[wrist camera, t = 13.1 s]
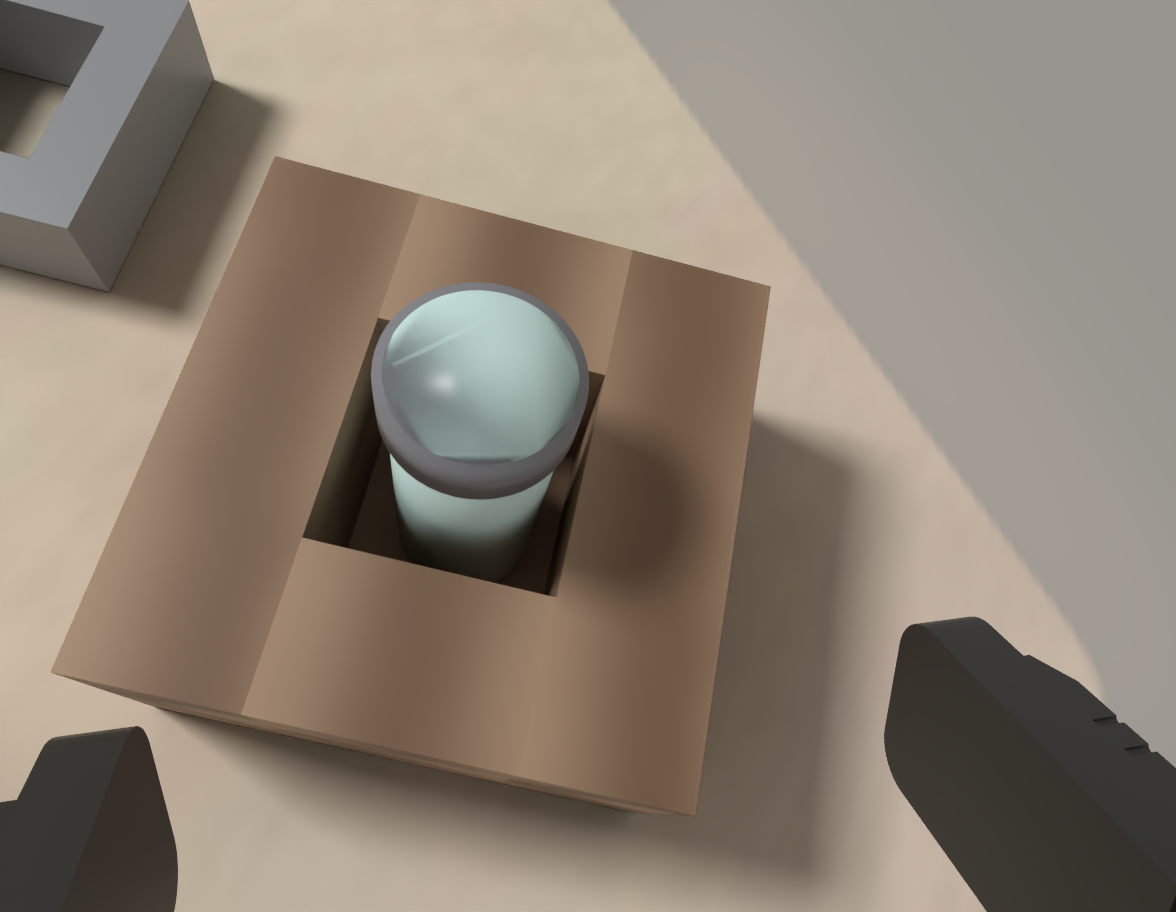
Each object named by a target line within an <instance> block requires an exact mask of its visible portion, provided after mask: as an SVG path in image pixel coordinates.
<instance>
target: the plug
mask: <svg viewBox="0 0 1176 912" xmlns="http://www.w3.org/2000/svg"><path fill="white" fill-rule="evenodd" d="M371 383H372V392H373V399H374V407H375V414H376V419H377V424H378V429H379V432H380V434H381V437H382V440H383V442H384V444H385V445H386V447H387V449H388V451H389V453H390V459H391V468H392V476H393V485H394V494H395V502H396V511H397V520H398V529H399V537H400V541H401V545H402V548H403V551H404V553H405V555H406V557H407V559H408V560H409V562H410V563H412V564H416V565H421V566H425V567H429V568H433V569H437V570H442V571H446V572H450V573H454V574H459V575H463V576H467V577H471V578H476V579H480V580H484V581H488V582H493V583H496V582H498V581H500V580H501V579H503V578H504V577H506V576H507V575H508V574H509V573H510V572H511V571H513V570H514V568H515V567H516V566H517V565H518V564H519V562H520V561H521V559H522V557H523V556H524V554H525V551H526V549H527V546H528V544H529V541H530V538H531V535H532V532H533V529H534V526H535V523H536V520H537V517H538V514H539V512H540V509H541V506H542V503H543V500H544V497H545V494H546V491H547V488H548V485H549V482H550V479H551V477H552V474H553V471H554V470H555V469H556V467H557V466H558V465H559V464H560V463H561V462H562V460H563V459H564V457H565V456H566V454H567V453H568V451H569V449H570V447H571V445H572V443H573V440H574V438H575V435H576V432H577V430H578V427H579V424H580V422H581V419H582V416H583V413H584V410H585V407H586V403H587V400H588V392H589V372H588V366H587V361H586V358H585V355H584V351H583V349H582V347H581V345H580V343H579V340H578V339H577V337H576V335H575V334H574V332H573V331H572V329H571V328H570V327H569V325H568V324H567V323H566V322H565V321H564V319H563V318H562V317H561V316H560V315H559V314H557V313H556V312H555V311H554V310H553V309H552V308H551V307H549V306H548V305H546V304H545V303H544V302H542V301H541V300H539V299H537V298H535V297H534V296H532V295H530V294H527V293H525V292H523V291H521V290H518V289H515V288H512V287H508V286H504V285H499V284H494V283H484V282H467V283H459V284H452V285H448V286H444V287H441V288H437V289H435V290H432V291H430V292H427V293H425V294H423V295H422V296H420V297H418V298H416V299H414V300H413V301H412V302H410V303H409V304H407V305H406V306H405V307H403V308H402V309H401V310H400V311H399V312H398V313H397V314H396V315H395V316H394V317H393V318H392V320H391V321H390V322H389V323H388V325H387V326H386V328H385V329H384V331H383V333H382V334H381V336H380V338H379V341H378V343H377V345H376V348H375V351H374V355H373V360H372V368H371Z"/></svg>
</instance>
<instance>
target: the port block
mask: <svg viewBox="0 0 1176 912" xmlns="http://www.w3.org/2000/svg"><path fill="white" fill-rule="evenodd" d="M467 282H484V283H494V284H499V285H504V286H508V287H512V288H515V289H518V290H521V291H523V292H525V293H527V294H530V295H532V296H534V297H535V298H537V299H539V300H541V301H542V302H544V303H545V304H546V305H548V306H549V307H551V308H552V309H553V310H554V311H555V312H556V313H557V314H559V315H560V316H561V317H562V318H563V319H564V321H565V322H566V323H567V324H568V325H569V327H570V328H571V329H572V331H573V332H574V334H575V335H576V337H577V339H578V340H579V343H580V345H581V347H582V349H583V351H584V355H585V358H586V361H587V366H588V372H589V392H588V400H587V403H586V407H585V410H584V413H583V416H582V419H581V422H580V424H579V427H578V430H577V432H576V435H575V438H574V440H573V443H572V445H571V447H570V449H569V451H568V453H567V454H566V456H565V457H564V459H563V460H562V462H561V463H560V464H559V465H558V466H557V467H556V469H555V470H554V471H553V474H552V477H551V479H550V482H549V485H548V488H547V491H546V494H545V497H544V500H543V503H542V506H541V509H540V512H539V514H538V517H537V520H536V523H535V526H534V529H533V532H532V535H531V538H530V541H529V544H528V546H527V549H526V551H525V554H524V556H523V557H522V559H521V561H520V562H519V564H518V565H517V566H516V567H515V568H514V570H513V571H511V572H510V573H509V574H508V575H507V576H506V577H504V578H503V579H501V580H500V581H498V582H496V583H493V582H488V581H484V580H480V579H476V578H471V577H467V576H463V575H459V574H454V573H450V572H446V571H442V570H437V569H433V568H429V567H425V566H421V565H416V564H412V563H410V562H409V560H408V559H407V557H406V555H405V553H404V551H403V548H402V545H401V541H400V537H399V529H398V520H397V511H396V502H395V494H394V485H393V476H392V468H391V459H390V453H389V451H388V449H387V447H386V445H385V444H384V442H383V440H382V437H381V434H380V432H379V429H378V424H377V419H376V414H375V407H374V399H373V392H372V383H371V368H372V360H373V355H374V351H375V348H376V345H377V343H378V341H379V338H380V336H381V334H382V333H383V331H384V329H385V328H386V326H387V325H388V323H389V322H390V321H391V320H392V318H393V317H394V316H395V315H396V314H397V313H398V312H399V311H400V310H401V309H402V308H403V307H405V306H406V305H407V304H409V303H410V302H412V301H413V300H414V299H416V298H418V297H420V296H422V295H423V294H425V293H427V292H430V291H432V290H435V289H437V288H441V287H444V286H448V285H452V284H459V283H467ZM770 288H771V286H767V285H763V284H759V283H755V282H752V281H748V280H744V279H740V278H736V277H733V276H729V275H725V274H721V273H717V272H714V271H710V270H706V269H702V268H698V267H695V266H691V265H687V264H683V263H679V262H676V261H672V260H668V259H664V258H660V257H657V256H653V255H649V254H645V253H641V252H638V251H634V250H630V249H626V248H622V247H618V246H615V245H611V244H607V243H603V242H599V241H596V240H592V239H588V238H584V237H580V236H577V235H573V234H569V233H565V232H561V231H558V230H554V229H550V228H546V227H542V226H539V225H535V224H531V223H527V222H523V221H520V220H516V219H512V218H508V217H504V216H501V215H497V214H493V213H489V212H485V211H482V210H478V209H474V208H470V207H466V206H463V205H459V204H455V203H451V202H447V201H444V200H440V199H436V198H432V197H428V196H425V195H421V194H417V193H413V192H409V191H406V190H402V189H398V188H394V187H390V186H387V185H383V184H379V183H375V182H371V181H368V180H364V179H360V178H356V177H352V176H349V175H345V174H341V173H337V172H333V171H330V170H326V169H322V168H318V167H314V166H310V165H307V164H303V163H299V162H295V161H291V160H288V159H284V158H280V157H276V156H275V158H274V160H273V163H272V165H271V167H270V169H269V172H268V174H267V176H266V179H265V181H264V183H263V186H262V188H261V190H260V192H259V195H258V197H257V199H256V202H255V204H254V206H253V208H252V211H251V213H250V215H249V218H248V220H247V222H246V225H245V227H244V229H243V231H242V234H241V236H240V238H239V241H238V243H237V245H236V247H235V250H234V252H233V254H232V257H231V259H230V261H229V264H228V266H227V268H226V270H225V273H224V275H223V277H222V280H221V282H220V284H219V287H218V289H217V291H216V293H215V296H214V298H213V300H212V303H211V305H210V307H209V309H208V312H207V314H206V316H205V319H204V321H203V323H202V326H201V328H200V330H199V332H198V335H197V337H196V339H195V342H194V344H193V346H192V348H191V351H190V353H189V355H188V358H187V360H186V362H185V365H184V367H183V369H182V371H181V374H180V376H179V378H178V381H177V383H176V385H175V388H174V390H173V392H172V394H171V397H170V399H169V401H168V404H167V406H166V408H165V410H164V413H163V415H162V417H161V420H160V422H159V424H158V427H157V429H156V431H155V433H154V436H153V438H152V440H151V443H150V445H149V447H148V450H147V452H146V454H145V456H144V459H143V461H142V463H141V466H140V468H139V470H138V472H137V475H136V477H135V479H134V482H133V484H132V486H131V489H130V491H129V493H128V495H127V498H126V500H125V502H124V505H123V507H122V509H121V511H120V514H119V516H118V518H117V521H116V523H115V525H114V528H113V530H112V532H111V534H110V537H109V539H108V541H107V544H106V546H105V548H104V551H103V553H102V555H101V557H100V560H99V562H98V564H97V567H96V569H95V571H94V573H93V576H92V578H91V580H90V583H89V585H88V587H87V590H86V592H85V594H84V596H83V599H82V601H81V603H80V606H79V608H78V610H77V612H76V615H75V617H74V619H73V622H72V624H71V626H70V629H69V631H68V633H67V635H66V638H65V640H64V642H63V645H62V647H61V649H60V652H59V654H58V656H57V658H56V661H55V663H54V665H53V668H52V670H51V673H54V674H57V675H60V676H63V677H66V678H69V679H72V680H75V681H78V682H81V683H84V684H87V685H90V686H93V687H96V688H99V689H103V690H106V691H109V692H112V693H115V694H118V695H121V696H124V697H127V698H130V699H133V700H136V701H139V702H142V703H145V704H148V705H151V706H154V707H159V708H163V709H168V710H172V711H177V712H181V713H186V714H191V715H195V716H200V717H204V718H209V719H213V720H218V721H222V722H227V723H231V724H236V725H240V726H245V727H249V728H254V729H258V730H263V731H267V732H272V733H276V734H281V735H285V736H290V737H294V738H299V739H303V740H308V741H312V742H317V743H321V744H326V745H330V746H335V747H339V748H344V749H348V750H353V751H357V752H362V753H366V754H371V755H375V756H380V757H384V758H389V759H393V760H398V761H403V762H407V763H412V764H416V765H421V766H425V767H430V768H434V769H439V770H443V771H448V772H452V773H457V774H461V775H466V776H470V777H475V778H479V779H484V780H488V781H493V782H497V783H502V784H506V785H511V786H515V787H520V788H524V789H529V790H533V791H538V792H542V793H547V794H551V795H556V796H560V797H565V798H569V799H574V800H578V801H583V802H587V803H592V804H596V805H601V806H605V807H610V808H615V809H619V810H624V811H628V812H633V813H651V814H670V815H690V816H696V809H697V802H698V795H699V788H700V781H701V774H702V767H703V760H704V753H705V745H706V738H707V731H708V724H709V717H710V710H711V703H712V696H713V689H714V682H715V675H716V668H717V661H718V654H719V647H720V640H721V633H722V626H723V619H724V612H725V605H726V598H727V591H728V584H729V576H730V569H731V562H732V555H733V548H734V541H735V534H736V527H737V520H738V513H739V506H740V499H741V492H742V485H743V478H744V471H745V464H746V457H747V450H748V443H749V436H750V429H751V422H752V415H753V408H754V400H755V393H756V386H757V379H758V372H759V365H760V358H761V351H762V344H763V337H764V330H765V323H766V316H767V309H768V302H769V295H770Z"/></svg>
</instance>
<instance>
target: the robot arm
mask: <svg viewBox="0 0 1176 912" xmlns="http://www.w3.org/2000/svg"><path fill="white" fill-rule="evenodd" d="M884 743H885V751H886V757H887V761H888V764H889V767H890V770H891V773H892V775H893V778H894V780H895V782H896V784H897V786H898V787H899V789H900V790H901V792H902V793H903V795H904V796H905V797H906V799H907V800H908V802H909V803H910V804H911V806H912V807H913V809H914V810H915V811H916V813H917V814H918V816H919V817H920V818H921V820H922V821H923V823H924V824H925V825H926V827H927V828H928V830H929V831H930V832H931V834H932V835H933V837H934V838H935V839H936V841H937V842H938V844H939V845H940V846H941V848H942V849H943V851H944V852H945V853H946V855H947V856H948V858H949V859H950V860H951V862H952V863H953V865H954V866H955V868H956V869H957V870H958V872H959V873H960V875H961V876H962V877H963V879H964V880H965V882H966V883H967V884H968V886H969V887H970V889H971V890H972V891H973V893H974V894H975V896H976V897H977V898H978V900H979V901H980V903H981V904H982V905H983V907H984V908H985V910H986V911H987V912H1176V768H1175V767H1174V766H1173V765H1171V764H1170V763H1169V762H1168V761H1167V760H1166V759H1165V758H1164V757H1162V756H1161V755H1160V754H1159V753H1158V752H1151V751H1150V750H1149V747H1148V743H1147V742H1146V741H1144V740H1143V739H1142V738H1141V737H1140V736H1139V735H1138V734H1137V733H1135V732H1134V731H1133V730H1132V729H1131V728H1130V727H1128V725H1126V724H1125V723H1118V721H1117V719H1116V715H1115V714H1114V713H1113V712H1112V711H1110V709H1108V708H1107V707H1106V706H1105V705H1104V704H1103V703H1102V702H1101V701H1099V700H1098V699H1097V698H1096V697H1095V696H1094V695H1093V694H1092V693H1090V692H1089V691H1088V690H1087V689H1086V688H1085V687H1084V686H1083V685H1081V684H1080V683H1079V682H1078V681H1076V680H1074V679H1073V678H1071V677H1069V676H1067V675H1065V674H1063V673H1062V672H1060V671H1058V670H1056V669H1054V668H1052V667H1050V666H1049V665H1047V664H1045V663H1043V662H1041V661H1039V660H1038V659H1036V658H1034V657H1032V656H1030V655H1026V656H1023V655H1022V654H1021V653H1020V652H1019V651H1018V650H1016V649H1015V648H1014V647H1013V646H1012V645H1011V644H1010V643H1009V642H1008V641H1007V640H1006V639H1005V638H1004V637H1002V636H1001V635H1000V634H999V633H998V632H997V631H996V630H995V629H994V628H993V627H992V626H991V625H989V624H988V623H987V622H986V621H984V620H982V619H980V618H978V617H964V618H957V619H949V620H942V621H935V622H927V623H920V624H913V625H910V626H909V627H908V628H906V630H905V631H904V633H903V635H902V637H901V641H900V645H899V651H898V657H897V662H896V668H895V674H894V679H893V685H892V691H891V697H890V702H889V708H888V714H887V719H886V725H885V732H884ZM177 883H178V861H177V851H176V844H175V839H174V835H173V831H172V827H171V824H170V820H169V816H168V812H167V808H166V804H165V801H164V797H163V793H162V789H161V785H160V781H159V778H158V774H157V770H156V766H155V762H154V758H153V754H152V751H151V747H150V743H149V740H148V737H147V735H146V733H145V732H144V730H143V729H142V728H141V727H138V726H135V727H128V728H120V729H113V730H105V731H98V732H90V733H83V734H75V735H68V736H60V737H55V738H52V739H50V740H49V741H48V742H47V743H46V744H45V745H44V747H43V749H42V750H41V752H40V754H39V756H38V758H37V760H36V762H35V764H34V766H33V768H32V770H31V773H30V775H29V777H28V779H27V781H26V783H25V785H24V787H23V789H22V791H21V793H20V795H19V797H18V799H17V800H13V801H6V802H0V912H174V909H175V903H176V896H177Z"/></svg>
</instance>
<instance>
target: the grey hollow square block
mask: <svg viewBox="0 0 1176 912" xmlns="http://www.w3.org/2000/svg"><path fill="white" fill-rule="evenodd" d="M0 68H2V69H6V70H9V71H13V72H17V73H21V74H25V75H28V76H32V77H36V78H40V79H44V80H47V81H51V82H55V83H59V84H62V85H66V86H70V88H69V90H68V91H67V93H66V95H65V97H64V98H63V100H62V102H61V104H60V105H59V107H58V109H57V111H56V112H55V114H54V116H53V117H52V119H51V121H50V123H49V124H48V126H47V128H46V130H45V131H44V133H43V135H42V137H41V138H40V140H39V142H38V144H37V145H36V147H35V149H34V151H33V152H32V154H31V156H30V157H29V159H28V158H24V157H20V156H17V155H13V154H9V153H5V152H1V151H0V265H3V266H7V267H11V268H15V269H19V270H23V271H27V272H31V273H35V274H39V275H43V276H47V277H51V278H55V279H59V280H63V281H67V282H71V283H75V284H79V285H83V286H87V287H91V288H94V289H98V290H102V291H106V292H109V291H110V289H111V287H112V285H113V283H114V281H115V279H116V277H117V275H118V273H119V271H120V269H121V267H122V265H123V263H124V261H125V259H126V257H127V255H128V253H129V251H130V248H131V246H132V244H133V242H134V240H135V238H136V236H137V234H138V232H139V230H140V228H141V226H142V224H143V222H144V220H145V218H146V216H147V214H148V212H149V210H150V208H151V206H152V204H153V202H154V200H155V198H156V196H157V194H158V192H159V190H160V188H161V186H162V183H163V181H164V179H165V177H166V175H167V173H168V171H169V169H170V167H171V165H172V163H173V161H174V159H175V157H176V155H177V153H178V151H179V149H180V147H181V145H182V143H183V141H184V139H185V137H186V135H187V133H188V131H189V129H190V127H191V125H192V123H193V121H194V118H195V116H196V114H197V112H198V110H199V108H200V106H201V104H202V102H203V100H204V98H205V96H206V94H207V92H208V90H209V88H210V86H211V84H212V82H213V80H214V77H213V74H212V71H211V68H210V65H209V62H208V59H207V56H206V52H205V49H204V46H203V43H202V40H201V37H200V34H199V31H198V27H197V24H196V21H195V18H194V15H193V12H192V9H191V5H190V2H189V0H0Z"/></svg>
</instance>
